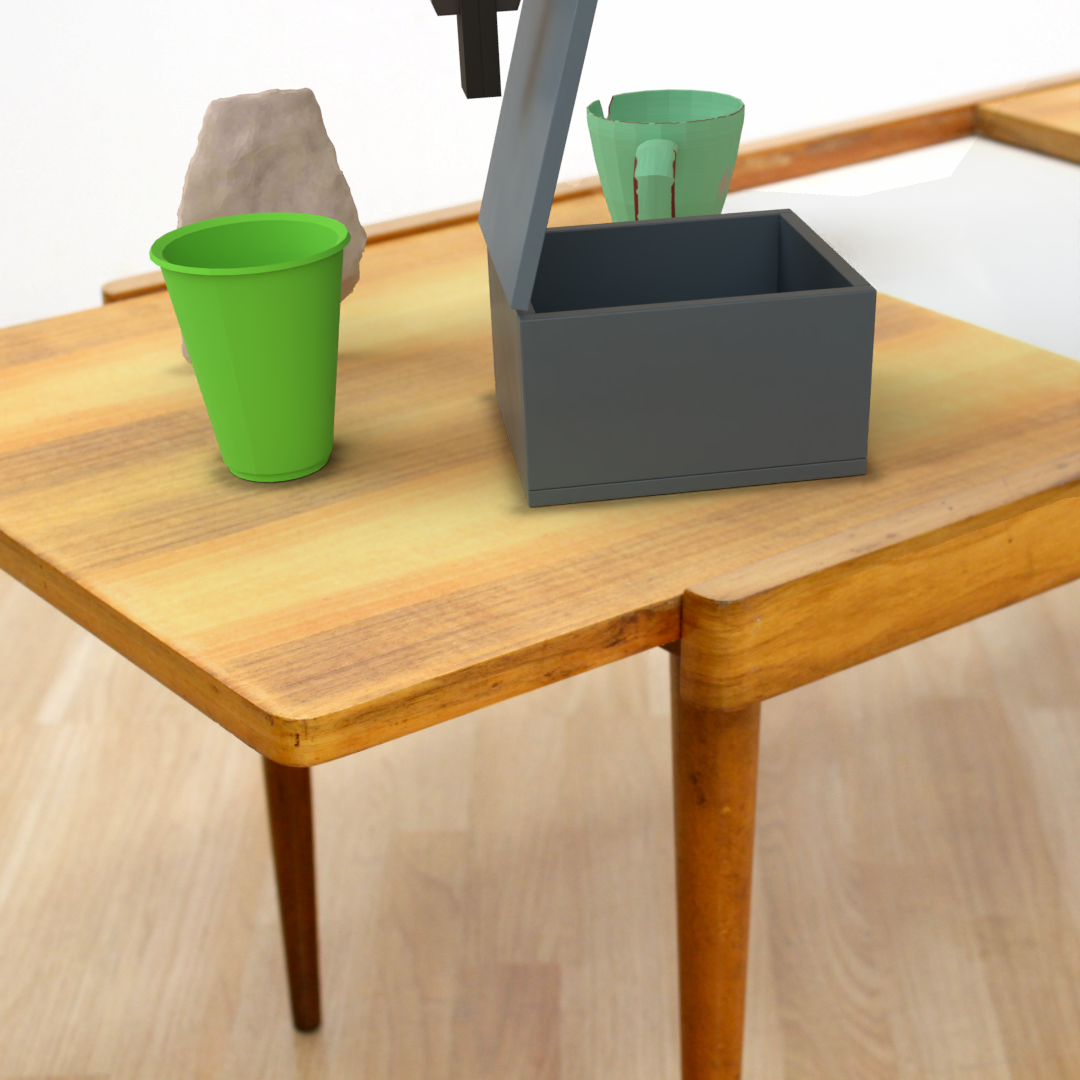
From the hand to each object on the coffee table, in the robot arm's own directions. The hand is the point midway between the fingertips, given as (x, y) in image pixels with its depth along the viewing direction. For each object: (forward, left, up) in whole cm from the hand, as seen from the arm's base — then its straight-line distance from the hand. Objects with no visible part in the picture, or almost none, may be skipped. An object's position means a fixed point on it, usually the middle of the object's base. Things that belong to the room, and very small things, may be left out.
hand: (481, 91), depth 68 cm
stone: (+11, -15, -17) cm, 25 cm away
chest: (-8, 0, -17) cm, 19 cm away
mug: (-13, -25, -17) cm, 33 cm away
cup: (+11, -1, -17) cm, 20 cm away
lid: (-3, 0, 0) cm, 3 cm away
